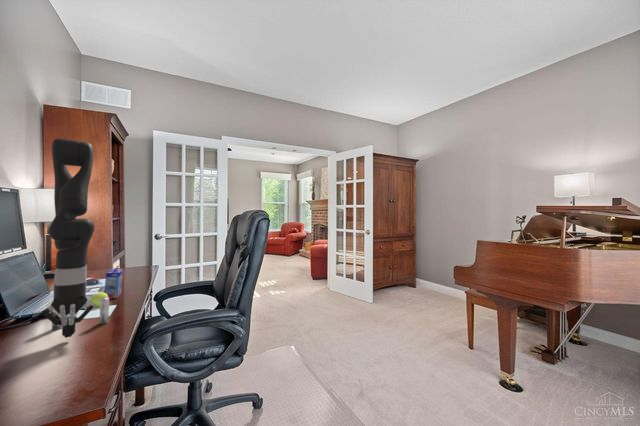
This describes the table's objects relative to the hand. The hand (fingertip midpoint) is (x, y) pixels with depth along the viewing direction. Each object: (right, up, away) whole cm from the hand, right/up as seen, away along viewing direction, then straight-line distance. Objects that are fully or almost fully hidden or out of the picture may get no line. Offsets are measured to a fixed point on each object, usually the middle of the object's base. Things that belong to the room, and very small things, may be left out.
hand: (68, 336), depth 87 cm
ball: (-16, +2, +32) cm, 35 cm away
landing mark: (-13, -1, +24) cm, 27 cm away
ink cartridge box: (-21, -2, +47) cm, 51 cm away
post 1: (-12, -1, +9) cm, 15 cm away
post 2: (0, -2, +15) cm, 15 cm away
